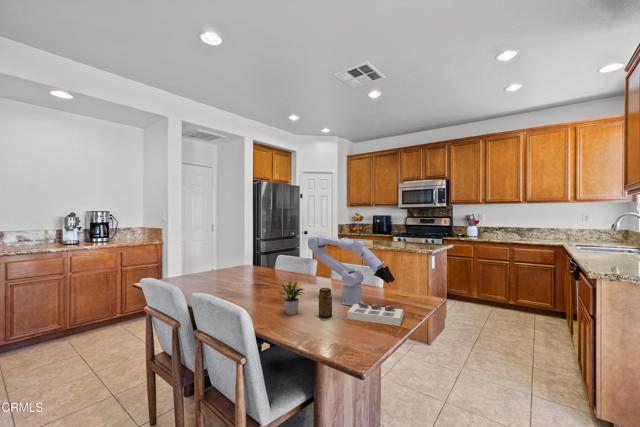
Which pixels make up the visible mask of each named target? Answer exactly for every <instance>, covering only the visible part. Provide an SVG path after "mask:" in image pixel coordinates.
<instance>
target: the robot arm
mask: <svg viewBox="0 0 640 427" xmlns="http://www.w3.org/2000/svg"><path fill="white" fill-rule="evenodd" d="M327 245H333V246H338V247H339V248H340V249H341V250H343V251H344V250H345V251H350V252H352V253H353V254H356V255H358V256H359V257H360V259H361V260H362V261H364V262H363V263H365V264H366V265H367V266H368V267H369V268H370V269H371V270H372V271H373V276H374V277H377V278H379V279H380V280H382V281H383V282H384V283H386V284H389V283H393V282H394V281H395V277H394V275H393V274H392V272H391V270H390V267H389V265H386V266H384V264H385V261H383V260H382V261H381V260H380V259H379V258H378V257H377V256H376V255H375V254H374V252H372V251H371V250H370V249H369V248H368V247H367V244H366V243H365V241H364V240H357V239H352V238H348V237H347V236H346V237H343V238H341V239H339V238H336V237H331V236H329V235H328V236H327V235H318V236H311V237H309V238H308V240H307V246H308V249H309V250H311V252H312V254H313V255H314V258H316V259H318V261H320V262H321V263H322V264H324V265H326V266H327V267H328V268H330V269H331V270H333V272H335V273H336V274H337V275H339V276H340V277H341V280H342V281H343V282H344V283H345V285H343V286H342V289H341V290H342V291H341V299H342V300H341V301H342V302H341V305H343V306H351V307H352V306H353V305H354V304H359V302H360V301H361V302H364V303H365V301H364V300H362V296H363V294H362V282H364V277H365V276H364V274H363V273H362V272H361V271H358V270H355V269H353V268H350V267H348V266H346V265H344V264H343V263H341V262H340V261H339V260H337V259H336V258H334V257H333V256H331V255H330V254H328V253H327V252H326V249H327Z"/></svg>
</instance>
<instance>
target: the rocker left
mask: <svg viewBox="0 0 640 427" xmlns="http://www.w3.org/2000/svg"><path fill="white" fill-rule="evenodd" d="M358 305H359V306H362V307H365V308H367V307H368V306H370V305H369V303H367V302H365V301H364V302H361V301H360V302H359V304H358Z"/></svg>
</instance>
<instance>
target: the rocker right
mask: <svg viewBox="0 0 640 427" xmlns="http://www.w3.org/2000/svg"><path fill="white" fill-rule="evenodd" d="M393 309H396V304H392V305H385V310H389V311H391V310H393Z"/></svg>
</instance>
